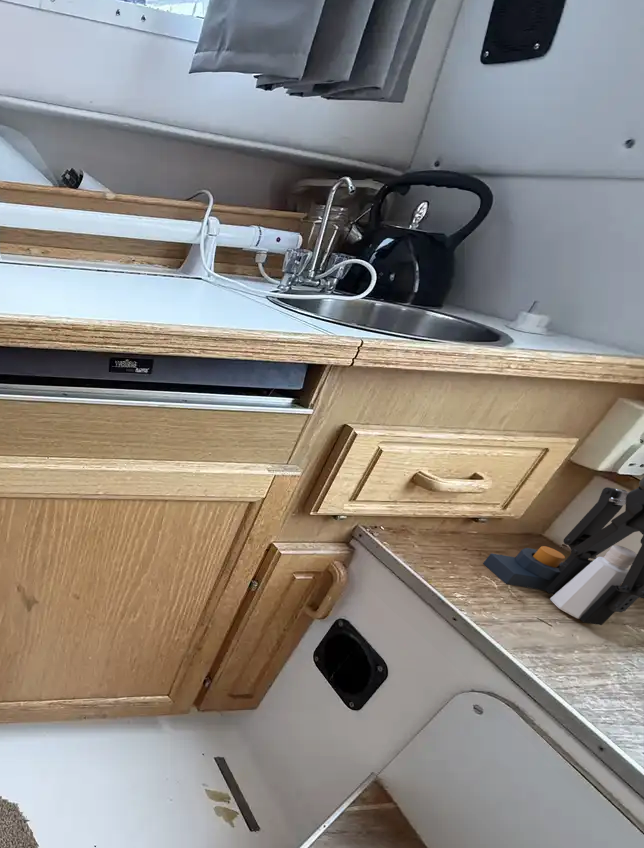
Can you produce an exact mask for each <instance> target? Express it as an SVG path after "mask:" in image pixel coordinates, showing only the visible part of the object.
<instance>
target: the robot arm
mask: <svg viewBox="0 0 644 848" xmlns="http://www.w3.org/2000/svg"><path fill="white" fill-rule="evenodd" d="M624 506H625V510H624V511H623V512H622V513H620V514H619V515H617V514H618V513H619V512H620V511H621V510H622V508H623V507H624ZM616 515H617V516H616ZM609 522H611V523H609ZM637 532H639V533H640V534H641V535H642V536H641V538H640V541H639V542H640V544H641V546H640V548H639V550H638V552H637V553H636V554H637V556H636V557H635V559H634V561H633V563H632V564H631V565H630V566H629V568H628V569H629V571H628V573H627V575H626V577H625V579H624V581H623V582H622V583H621V585H620V586H619V585H616V586H615V585H612V586H611V587H610V588H609V589H608V590H607V591H606V592H605V593H604V594H603V595H602V596H601V597H600V598H599V599H598V600H597V601H596V602H595V603H594V604H593V605H592V606H591V607H590V608H589V609H588V610H587V611H586V612H585V613H584V614H583V615H582V616H581V617H580V618H579V619H578V620H580V621H582V622H583V623H584V624H590V625H596V626H603V625H604V623H605V622H606V621H608V620H609V618H611V617H612V615H613V614H615V613H624V612H626V610H627V609H629V608H630V607H631V606H632V605H633V604H634V603H635V602H636V601H637V600H638V599H639V598H640V599H644V476H643V477H642V478H641V479H640V480H639V482H638V487H637V488H634V489H632V490H630V491H627V490H625V489H621V488H615V487H608V486H607V487H604V488H603V489H602V491H601V493H600V496H599V498H598V500H597V502H596V503H595V504H594V505H593V506H592V507H591V508H590V510H589V511H588V512H586V514H585V515H584V516H583V517H582V518H581V519H580V521H579V522H578V523H576V525H575V526H574V527H573V528H572V529H571V531H570V532H569V533H568V534H567V535H566V536H565V537H564V538H563V540H562V541H563V544H564V545H567V546H568V547H569V549H570V554H569V556H567V558H566V559H564V560H563V561H562V563H563V564H562V565H561V566H560V567H559V571H560V572H561V573H560V574H559V575H558V577H557V578H556V579H555V580H554V581H553V582H552V583H551V584H550V585H549V586H548V588H547V589H546V590H544V591H545V592H546V593H547V594H549V595H554V594H555V593H556V592H558V591H559V590H560V589H561V588H562V587H563V586H565V585H566V584H567V583H568V582H569V581H570V580H571V579H573V578H574V577H575V576H576V575H577V574H578V573H580V572H581V571H582V570H583V569H584V568H585V567H586V566H588V565H589V564H590V563H591V562H592V561H593V560H595V559H596V558H597V557H598V555H600V554H601V553H603V552H605V551H607V550H608V549H609V548H611V547H612V546H614V545H617V544H618V543H619V542H622V540H625V539H626V538H627V537H629V536H631V535H632V534H633V533H637ZM591 559H592V560H591Z"/></svg>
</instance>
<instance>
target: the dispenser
mask: <svg viewBox="0 0 644 848" xmlns="http://www.w3.org/2000/svg"><path fill="white" fill-rule="evenodd" d="M537 551H538V549H535V548H530V547H524V548H523V549H521V550H520V551H519V552H518V554H516V556H510V555H505V554H497V553H492V552H491V553H489V555H488V556H487V557H486V559H485V560H484V561H483V563H482V564H483V565H484V566H485V567H486V568H487V569H488V570H489V571H491V572H492V573H493V574H494V575H495V576H496V577H497V578H499V579H500V580H501V581H502V582H503V583H504V584H505V585H510V586H515V587H521V588H522V587H523V588H529V589H533V590H534V589H535V590H539V591H545V590H546V589H547V588H548V586H549V585H550V584H551V583H552V582H553V581H554V580H555V579H556V578H557V577H558V575H559V574H560V573H561V572H560V571H559V567H560V566H561V565H562V564H563V561H562V562H561V563H560V564H559V565H558V566H557V567H556V568H554V567H550V566H548V565H545V564H543V563H541V562H540V561H538V560H536V559H535V558H534V557H533V555H534V554H535V553H536V552H537Z"/></svg>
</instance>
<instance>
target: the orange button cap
mask: <svg viewBox="0 0 644 848" xmlns="http://www.w3.org/2000/svg"><path fill="white" fill-rule="evenodd" d="M537 550H538V551H537V552H536V553H535V554H534V555H533V557H534V558H535V559H536V560H538V561H540V562H541V563H543V564H545V565H548V566H550V567H554V568H556V567H557V566H558V565H559V564H560V563H561V562H562V563H563V562H564V561H565V560H566V559H565V558H566V556H565V555H564V553H562V552H560V551H558V550H556V549H554V548H552V547H550V546H546V545H542V546H540V547H539V548H538V549H537Z"/></svg>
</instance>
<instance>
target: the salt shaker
mask: <svg viewBox="0 0 644 848" xmlns="http://www.w3.org/2000/svg"><path fill="white" fill-rule="evenodd" d="M637 554H638V553H637V552H635V551H633V550H631V549H630V548H627V547H625V546H623V545H617V544H614V545H613V546H611V547H610V549H609V550H608V551H607V552H606V553H605V555H604V556H596V559H592V562H591V563H590V564H589V565H588V566H586V567H585V568H584V569H583V570H582V571H581V572H580V573H578V574H577V575H576V576H575V577H574V578H573V579H571V580H570V581H569V582H568V583H567V584H566V585H565V586H563V587H562V588H561V589H560V590H559V591H558V592H556V593H555V594H552V596H551V597H550V598H549V600H550V602H552V603H553V604H554V605H555V606H556V607H557V608H558V609H559V610H561V611H563V612H565V613H566V614H568V615H570V616H572V617H573V618H575V619H578V620H580V619H579V618H580V617H581V616H582V615H583V614H584V613H585V612H586V611H587V610H588V609H589V608H590V607H591V606H592V605H593V604H594V603H595V602H596V601H597V600H598V599H599V598H600V597H601V596H602V595H603V594H604V593H605V592H606V591H607V590H608V589H609V588H610V587H611V586H612V585H615V586H616V585H619V586H621V585H622V583H623V581H624V579H625V577H626V575H627V573H628V571H629V569H630V566H631V565H632V563H633V561H634V559H635V557H636V556H637Z"/></svg>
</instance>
